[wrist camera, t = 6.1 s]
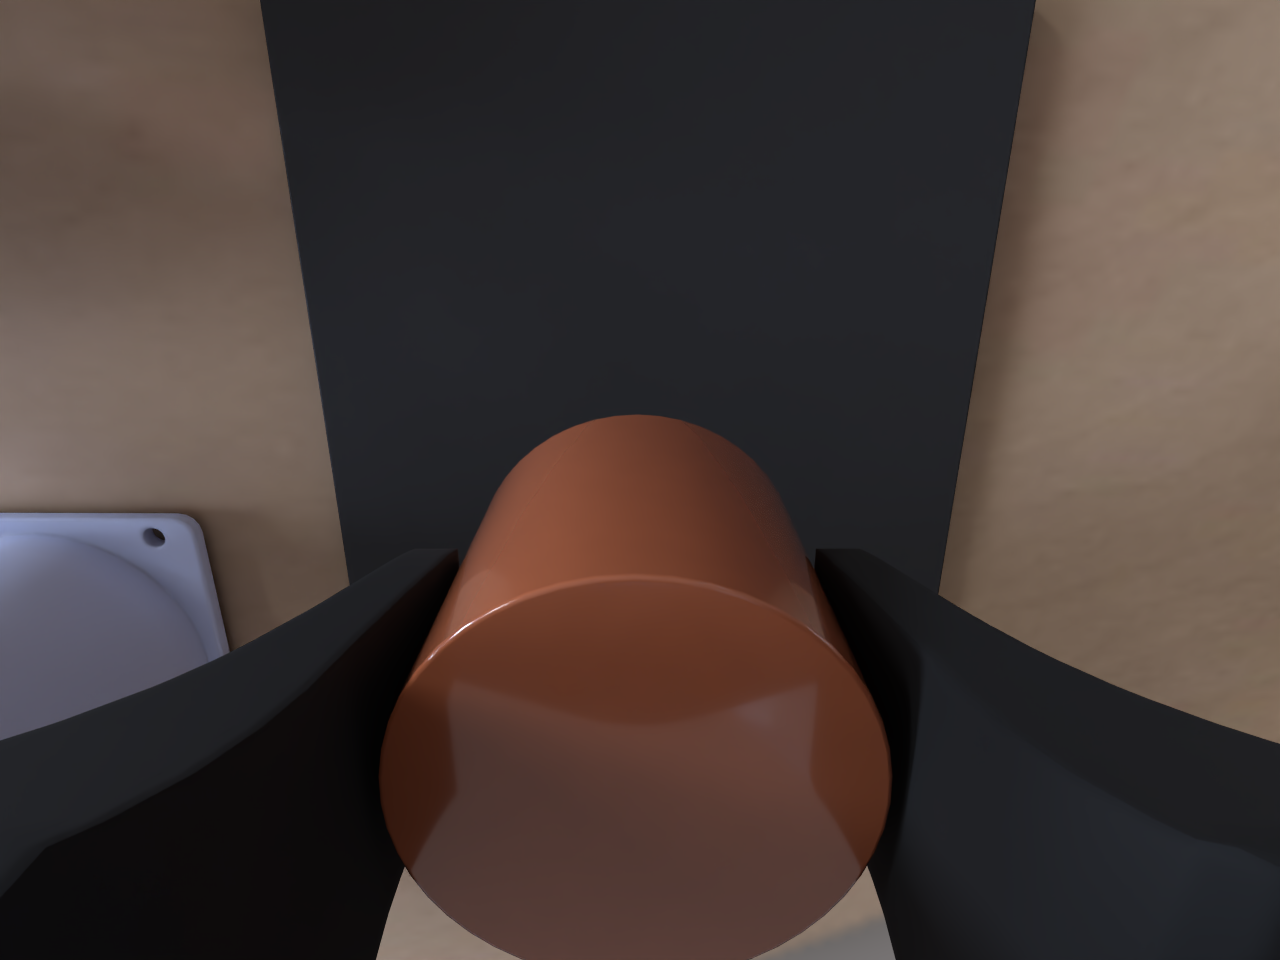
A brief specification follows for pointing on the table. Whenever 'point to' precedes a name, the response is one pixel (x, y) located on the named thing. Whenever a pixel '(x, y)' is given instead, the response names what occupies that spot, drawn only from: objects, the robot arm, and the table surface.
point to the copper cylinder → (635, 713)
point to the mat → (647, 243)
